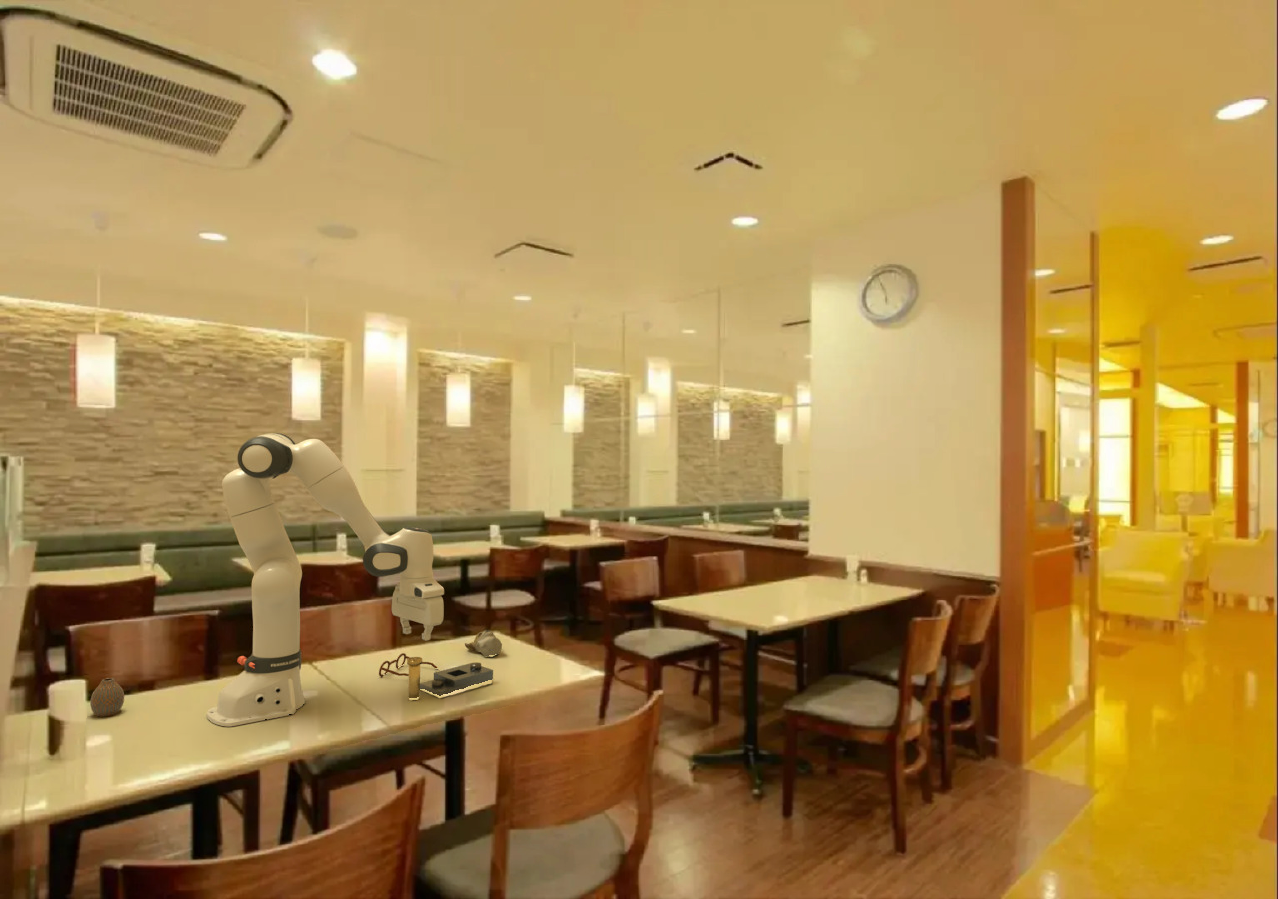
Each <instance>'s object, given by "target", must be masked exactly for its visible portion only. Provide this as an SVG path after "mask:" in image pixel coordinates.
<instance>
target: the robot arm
mask: <svg viewBox="0 0 1278 899" xmlns="http://www.w3.org/2000/svg"><path fill="white" fill-rule="evenodd" d="M237 463H238V465H239V466H238V467H239V468H236V469H233V470H232V471H230V472H229V473H227V474H226V475H225V476H224V478H222V481H221V487H222V488H221V489H222V494H223V500H224V504H225V508H226V511H227V514H228V517H229V519H230V523H231V526H232V528H233V529H234V534H235V536H236V539H237V541H238V544H239V547H241V549H242V551H243V553H244V556H246V559H247V561H248V564H249V566H250V567H251V569H252V571H253V577H252V579H251V609H252V610H251V611H252V612H251V613H252V626H253V628H252V630H253V631H252V653H251V654H250V656H248V657H246V656H244V655H241V656H238V658H237V663H238V664H240V665H241V666H244V670H243V671H242V672H240V673H239V674H238V675H237V676H236V677H234V679H232V680H231V681H230V682H229V683H227V684H226V685H225V686H224V687H223V688H222V689H221V691H220V692H219V695H218V701H217V705H216V706H214V707H211V708H209V709H208V710H207V713H206V718H207V719H208V721H210V722H211V723H213V724H214V725H218V726H222V727H235V726H239V725H244V724H250V723H255V722H260V721H266V720H265V719H267V720H271V719H276V718H281V717H286V716H290V715H289V714H292V715H293V714H295V713H296V711H297V710H298V709H300V708H301V707H302V706H304V705H303V704H305V703H306V700H305V696H304V693H303V689H302V682H301V680H302V679H301V672H300V670H301V668H302V650H301V648H300V642H301V641H300V639H301V638H300V637H301V613H300V612H301V610H300V608H301V607H300V605H301V604H300V603H301V602H300V601H301V600H300V598H301V597H300V591H301V590H300V588H301V581H302V577H303V571H302V566H301V564H300V561H299V558H298V557H297V554H296V552H295V549H294V547H293V544H292V543H291V540H290V538H289V535H288V533H287V531H286V528H285V526H284V524H283V519H282V517H281V515H280V512H279V510H278V507H277V504H276V501H275V499H274V495H273V492H272V490H271V482H272V480H274V479H275V478H277V477H279V476H280V475H283V474H287V473H290V474H292V475H294V476H295V477H296V478H297V479H298V480H299V481H300V483H301V484H302V486H303V487H304V488H305V490H306V491H307V492H308V494H309V495H310V496H311V497H312V499H313V500H314V501H315V502H316V503H317V504H319V506H320V507H321V508H323V509H324V510H325V511H329V512H330V513H333V514H335V515H338V516H339V517H341V518H342V519H343V520H344V521H345V522H346V523H347V524H348V525H349V527H350V528H351V530H352V531H353V532H354V533H355V535H356V536H357V537H358V539H359V540H360V542H361V544H362V545H363V547H364V551H365V552H364V554H363V556H362V557H363V558H362V563H363V567H364V569H365V571H366V572H367V573H369V574H370V575H371V576H374V577H379V578H383V577H388V576H389V577H390V576H392V575H396V574H399V582H397V584H396V585H395V587H394V588H395V589H394V591H393V593H392V600H391V612H392V615H393V616H395V617H399V619H400V620H399V622H400V624H401V627H402V634H405V635H409V634H411V633H412V626H411V625H410V621H413V622H416V623H419V624H423V628H424V631H423V632H422V633H421V640H423V641H429V640H431V637H432V636H431V634H432V632H433V629H434V627H435V626H439V625H441V624H442V623H443V621H444V612H445V611H444V607H445V606H444V599H443V597H442V596H443V595H445V589H444V587H443V586H442V585H441V584H440V583H438V581H437V580H436V579H435V578H434V571H433V561H434V543H433V536H432V533H431V532H430V531H429V530H427V529H425V528H423V527H418V526H404V527H403V528H402V529H400V530H399V531H397V532H396V533H394V534H390V533H388V532H386V531H385V530H384V529H383V528H382V527H381V525H380V524H379V523H378V522H377V520H376V519H375V518H374V516H373V515H372V514H371V512H370V511H369V509H368V508H367V507H366V505H365V503H364V502H363V499H362V497H361V495H360V493H359V490H358V488H357V485H356V483H355V481H354V479H353V478H352V476H351V474H350V472H349V471H348V469H347V468H346V467H345V465H344V464H343V462H342V461H341V459H340V458H339V457H338V456H337V455H336V454H335V452H334V451H333V450H332V448H331V449H330V447H329V446H328V445H327V444H325V442H323V441H322V440H321V439H318V438H309V439H305V440H302V441H301V442H298V443H295V441H294V440H293V439H292V438H291V437H289V436H288V435H286V434H283V433H280V432H279V433H278V432H271V433H270V432H269V433H263V434H259V435H257V436H253V437H251V438H250V439H248V440H246V441H244V443H243V444H242V445H241V447H240V448H239V450H238V453H237ZM296 709H297V710H296Z"/></svg>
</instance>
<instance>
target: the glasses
mask: <svg viewBox="0 0 1278 899" xmlns="http://www.w3.org/2000/svg"><path fill="white" fill-rule="evenodd" d="M401 657H403V660H402V663H401V664H400V666H401V665H403V664H404V665H405V663H406V661H407V659H408V658H411V657H412V656H411V657H410V656H407V654H406V653H405V652H404V653H403V652H402V653H400V654H399V655H398V656H397V658H396V659H393V660H391V661H388V660H385V661H383V662H382V663H381V664H380V667H379V669H378V676H379V677H380V676H381V675H382V671H383V672H384V673H383V674H386V673H387V674H388V673H389V674H393V675H396V676H398V677H402V676H404V677H405V676H406V677H409V673H399V672H397V671H393V670H390V667H391V665H392V664H394V663H395V668H396V669H398V667H399V661H400V659H401ZM386 664H387V668H385V667H384V666H385V665H386ZM404 665H403V666H404ZM421 665H429V666H430V665H431V667H433V669H435V668H438V666H437V665H435V664H434V663H433V662H430V661H422V664H421ZM387 674H386V675H387Z"/></svg>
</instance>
